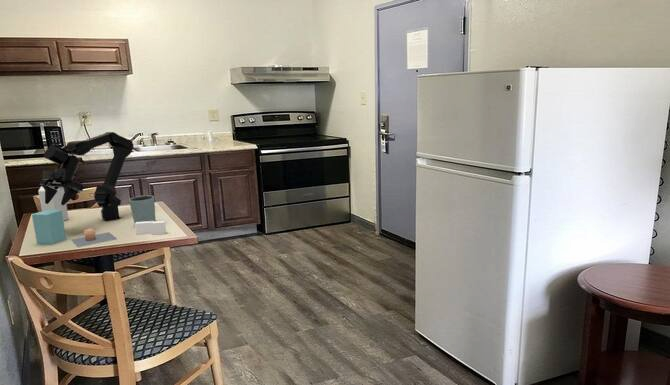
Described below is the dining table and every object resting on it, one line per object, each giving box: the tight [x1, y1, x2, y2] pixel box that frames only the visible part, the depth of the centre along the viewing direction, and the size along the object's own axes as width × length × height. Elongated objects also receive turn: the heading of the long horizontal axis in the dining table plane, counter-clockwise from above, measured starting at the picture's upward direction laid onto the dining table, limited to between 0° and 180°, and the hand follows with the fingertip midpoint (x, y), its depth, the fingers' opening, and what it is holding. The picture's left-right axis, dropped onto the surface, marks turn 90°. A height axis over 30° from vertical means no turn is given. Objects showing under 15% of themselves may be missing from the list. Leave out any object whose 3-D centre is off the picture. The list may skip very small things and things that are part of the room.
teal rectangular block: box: [31, 210, 67, 245], centre depth 180 cm, size 7×7×12 cm
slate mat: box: [70, 231, 118, 248], centre depth 182 cm, size 14×13×1 cm
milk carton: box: [37, 185, 70, 222], centre depth 212 cm, size 7×7×19 cm
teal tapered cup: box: [128, 194, 156, 225], centre depth 200 cm, size 10×10×12 cm
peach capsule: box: [83, 227, 96, 241], centre depth 182 cm, size 4×4×4 cm
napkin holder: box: [134, 220, 167, 236], centre depth 187 cm, size 15×11×6 cm
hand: (54, 204), depth 188 cm, fingers open, 9 cm apart
